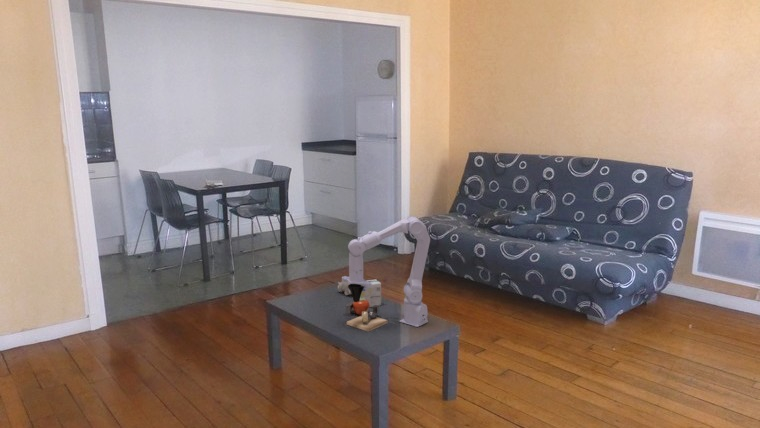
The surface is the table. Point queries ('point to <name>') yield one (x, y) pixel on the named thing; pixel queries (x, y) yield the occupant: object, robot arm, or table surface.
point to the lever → (370, 314)
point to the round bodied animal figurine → (344, 287)
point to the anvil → (349, 309)
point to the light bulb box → (373, 293)
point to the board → (370, 325)
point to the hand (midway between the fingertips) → (356, 301)
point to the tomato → (361, 305)
